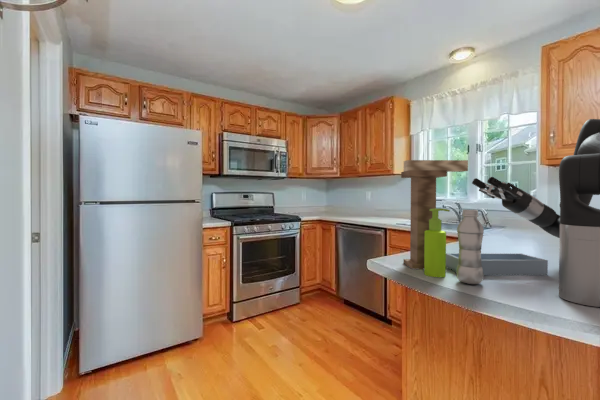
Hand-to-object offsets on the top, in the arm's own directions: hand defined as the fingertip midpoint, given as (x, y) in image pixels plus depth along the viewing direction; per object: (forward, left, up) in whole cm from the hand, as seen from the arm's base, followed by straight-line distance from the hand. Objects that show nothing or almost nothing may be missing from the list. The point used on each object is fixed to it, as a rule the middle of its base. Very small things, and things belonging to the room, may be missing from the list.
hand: (481, 179), depth 99 cm
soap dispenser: (+10, +20, -29) cm, 37 cm away
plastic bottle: (+1, +24, -29) cm, 38 cm away
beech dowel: (+13, +9, +3) cm, 16 cm away
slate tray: (-4, +5, -29) cm, 30 cm away
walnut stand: (+16, +11, -29) cm, 35 cm away
